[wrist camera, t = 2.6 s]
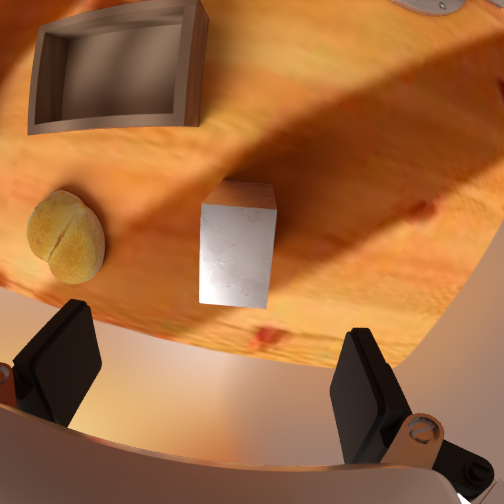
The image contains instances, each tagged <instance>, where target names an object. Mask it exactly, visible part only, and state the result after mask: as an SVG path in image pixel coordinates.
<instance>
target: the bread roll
mask: <svg viewBox="0 0 504 504" xmlns="http://www.w3.org/2000/svg"><path fill="white" fill-rule="evenodd" d="M27 223H28V225H27V238H28V242H29V245H30V248H31V250H32V252H33V253H34V254H35V255H36V256H37V257H39V258H40V259H42V260H44V261H46V262H48V264H49V267H50V270H51V272H52V274H53V275H54V276H55V277H56V278H57V279H58V280H60V281H61V282H64V283H66V284H79V283H82V282H85V281H87V280H89V279H91V278H92V277H93V276H94V275H95V274H96V273H97V272H98V271H99V269H100V268H101V265H102V263H103V259H104V253H105V237H104V232H103V228H102V225H101V223H100V221H99V219H98V218H97V216H96V215H95V213H94V212H93V211H92V210H91V209H90V208H88V207H87V206H86V205H85V204H84V203H83V202H82V200H81V199H80V198H79V197H77V196H76V195H74V194H72V193H70V192H67V191H64V190H58V191H56V192H53V193H51V194H50V195H49V197H48V198H46V199H44V200H43V201H42V202H41V203H39V204H38V206H37V207H35V209H34V212H33V213H32V214H31V216H30V218H29V219H28V222H27Z"/></svg>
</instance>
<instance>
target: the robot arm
mask: <svg viewBox="0 0 504 504" xmlns="http://www.w3.org/2000/svg"><path fill="white" fill-rule="evenodd" d="M390 1H392V2H394V3H395V4H397V5H399V6H401V7H403V8H405V9H408V10H410V11H412V12H416V13H419V14H423V15H429V16H445V15H448V14H451V13H453V12H455V11H456V10H458V9H460V8H461V7H462V6H463V5H464V3H465V1H466V0H390ZM486 1H487V2H489V3H491V4H492V5H494V6H496V7H497V8H503V7H504V0H486ZM13 363H14V366H13V367H12V368H11V367H10V366H9V365H8V364H6V363H0V504H504V482H503V481H502V480H501V479H498V480H497V481H496V480H494V469H493V467H492V465H491V464H490V463H489V462H488V461H487V460H486V459H484V458H483V457H480V456H478V455H476V454H474V453H472V452H469V451H467V450H465V449H463V448H461V447H458V446H457V445H454V444H452V443H450V442H448V441H446V440H444V439H443V438H444V429H443V426H442V425H441V423H440V422H439V421H438V420H437V419H436V418H434V417H432V416H431V415H428V414H424V413H423V414H422V413H417V414H412V411H411V409H410V407H409V405H408V403H407V400H406V398H405V396H404V394H403V392H402V390H401V387H400V386H399V383H398V382H397V379H396V377H395V375H394V373H393V371H392V369H391V367H390V365H389V364H388V363H386V361H385V359H384V357H383V355H382V353H381V351H380V349H379V347H378V345H377V343H376V341H375V339H374V337H373V335H372V333H371V331H370V329H369V328H353V329H352V330H351V332H347V333H346V336H345V339H344V343H343V346H342V350H341V353H340V357H339V360H338V363H337V367H336V370H335V373H334V376H333V380H332V383H331V386H330V397H331V401H332V406H333V411H334V415H335V420H336V424H337V429H338V434H339V438H340V443H341V447H342V453H343V458H344V462H345V464H342V465H319V466H318V465H317V466H279V465H278V466H277V465H254V464H238V463H228V462H218V461H210V460H202V459H194V458H188V457H181V456H175V455H169V454H164V453H159V452H153V451H148V450H144V449H140V448H136V447H131V446H127V445H123V444H119V443H116V442H112V441H108V440H104V439H101V438H97V437H94V436H91V435H87V434H84V433H81V432H78V431H75V430H72V429H69V428H67V427H68V425H69V424H70V422H71V420H72V418H73V416H74V414H75V413H76V411H77V409H78V407H79V405H80V404H81V402H82V400H83V399H84V397H85V395H86V393H87V392H88V390H89V388H90V387H91V385H92V383H93V381H94V380H95V378H96V376H97V374H98V373H99V371H100V370H101V366H102V361H101V356H100V352H99V348H98V343H97V339H96V334H95V329H94V325H93V319H92V314H91V309H90V307H89V306H88V305H87V303H86V302H85V301H81V300H76V299H71V300H69V301H68V302H67V303H66V304H65V305H64V306H63V307H62V308H61V309H60V310H59V311H58V312H57V313H56V314H55V315H54V316H53V317H52V318H51V319H50V321H48V322H47V324H46V325H45V326H44V327H43V328H42V329H41V330H40V331H39V332H38V333H37V334H36V335H35V336H34V337H33V338H32V339H31V341H30V342H29V343H28V344H27V345H26V346H25V347H24V348H23V349H22V351H20V353H19V354H18V355H17V356H16V357H15V358H14V360H13Z"/></svg>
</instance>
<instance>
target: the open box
mask: <svg viewBox="0 0 504 504" xmlns="http://www.w3.org/2000/svg"><path fill="white" fill-rule="evenodd" d="M208 23H209V17H208V15H207V13H206V11H205V10H204V8H203V6H202V4H201V2H200V0H149V1H142V2H135V3H129V4H124V5H118V6H113V7H108V8H103V9H99V10H94V11H90V12H86V13H82V14H78V15H75V16H71V17H68V18H64V19H61V20H58V21H54V22H51V23H48V24H45V25H42V26H40V27H39V31H38V37H37V42H36V48H35V54H34V60H33V68H32V76H31V85H30V95H29V109H28V133H27V135H36V134H46V133H57V132H67V131H78V130H90V129H105V128H125V127H199V114H200V101H201V89H202V78H203V68H204V58H205V48H206V39H207V31H208Z"/></svg>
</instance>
